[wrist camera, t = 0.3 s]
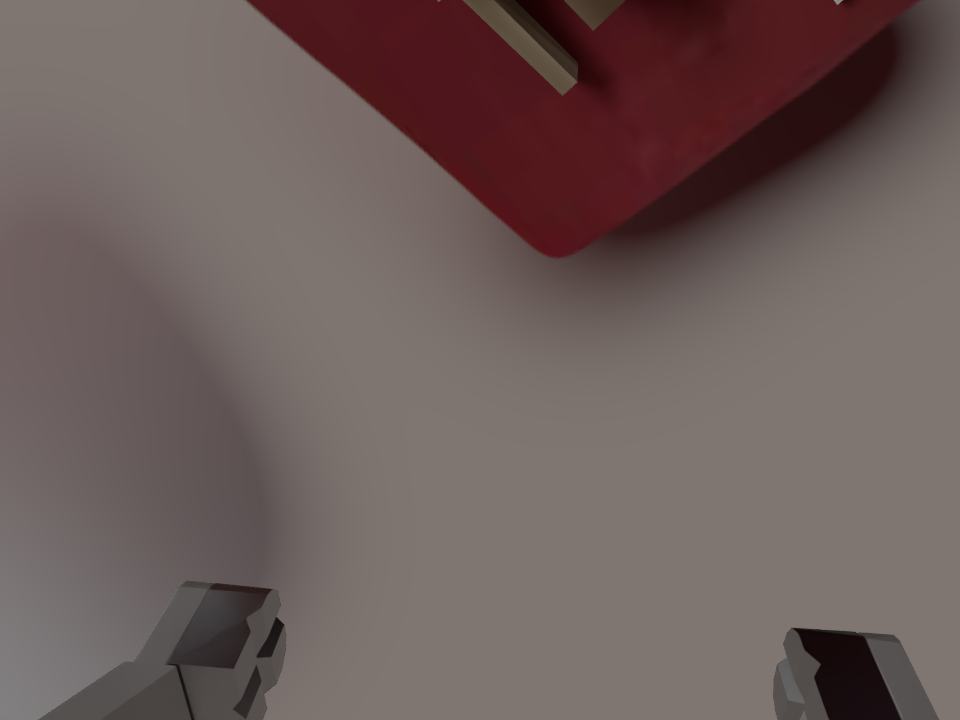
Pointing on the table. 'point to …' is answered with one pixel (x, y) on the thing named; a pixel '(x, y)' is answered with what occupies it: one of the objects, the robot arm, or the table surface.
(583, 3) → the block
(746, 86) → the table surface
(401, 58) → the table surface
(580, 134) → the table surface
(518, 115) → the table surface
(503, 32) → the shelf bay
